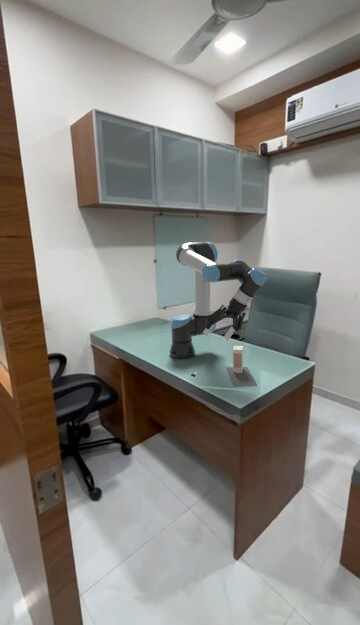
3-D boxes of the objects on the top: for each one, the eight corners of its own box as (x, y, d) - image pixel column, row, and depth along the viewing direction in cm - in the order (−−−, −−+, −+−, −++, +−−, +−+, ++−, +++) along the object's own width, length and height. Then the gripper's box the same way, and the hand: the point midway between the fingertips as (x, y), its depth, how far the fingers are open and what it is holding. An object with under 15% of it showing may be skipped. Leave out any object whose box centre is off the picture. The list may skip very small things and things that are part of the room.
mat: (226, 368, 159) (226, 367, 158) (247, 367, 158) (247, 366, 158) (233, 388, 137) (233, 386, 137) (257, 387, 137) (257, 386, 137)
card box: (234, 367, 158) (234, 345, 155) (242, 368, 157) (243, 346, 154) (232, 372, 152) (232, 349, 149) (242, 373, 151) (242, 350, 148)
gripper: (224, 299, 125) (198, 337, 134) (263, 311, 139) (237, 345, 148) (216, 289, 131) (191, 327, 139) (254, 301, 145) (230, 335, 153)
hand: (215, 336), depth 143 cm, fingers open, 13 cm apart
